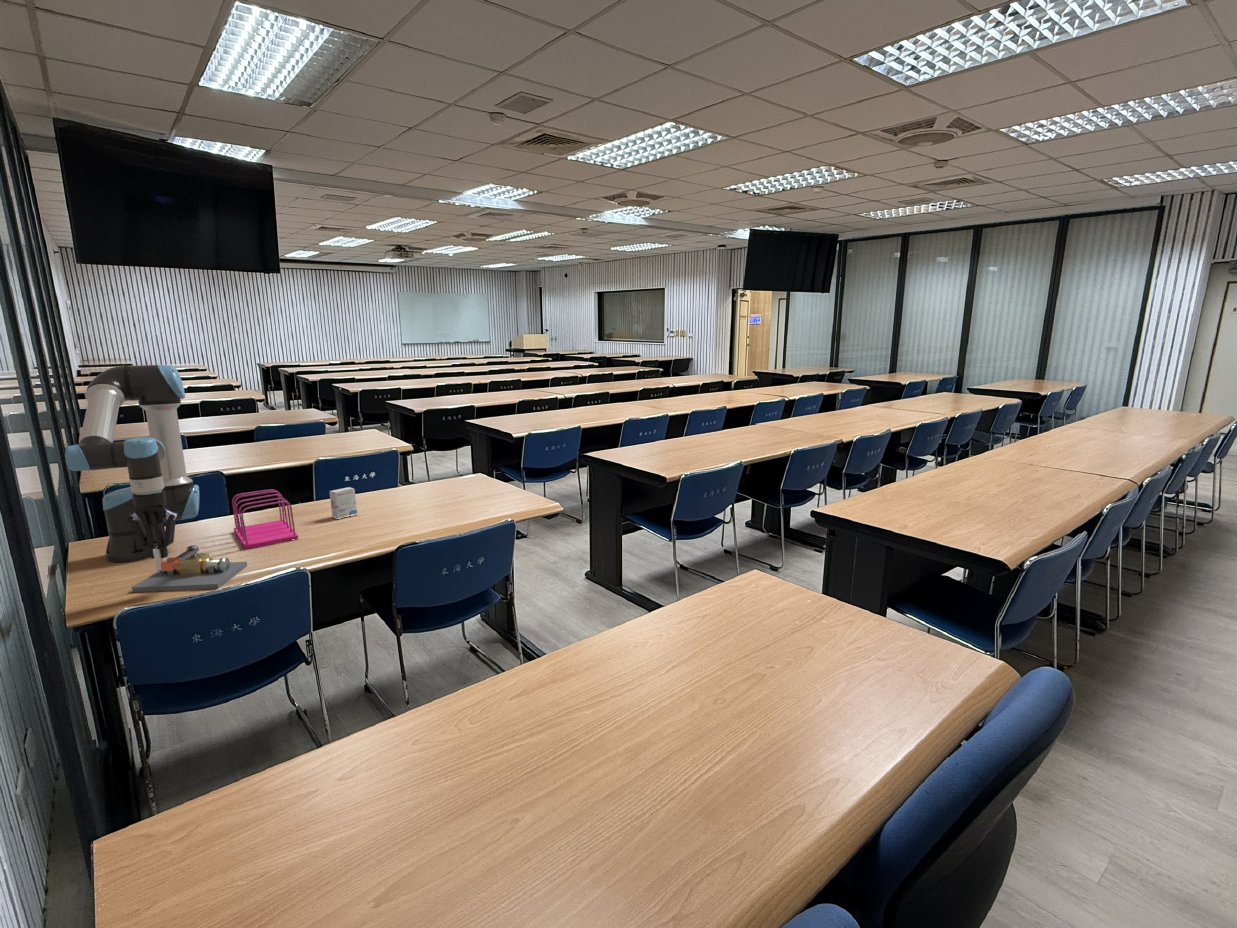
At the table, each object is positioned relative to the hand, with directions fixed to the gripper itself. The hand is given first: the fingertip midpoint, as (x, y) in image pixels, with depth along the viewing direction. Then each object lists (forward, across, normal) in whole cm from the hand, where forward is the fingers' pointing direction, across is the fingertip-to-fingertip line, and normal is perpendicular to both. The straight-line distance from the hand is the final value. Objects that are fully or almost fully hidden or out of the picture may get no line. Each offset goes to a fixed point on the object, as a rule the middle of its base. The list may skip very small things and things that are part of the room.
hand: (161, 568), depth 179 cm
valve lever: (0, +3, +5) cm, 6 cm away
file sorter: (+8, +7, +49) cm, 50 cm away
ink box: (+7, +28, +71) cm, 77 cm away
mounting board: (+7, +3, +9) cm, 12 cm away
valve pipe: (+7, +3, +11) cm, 14 cm away
